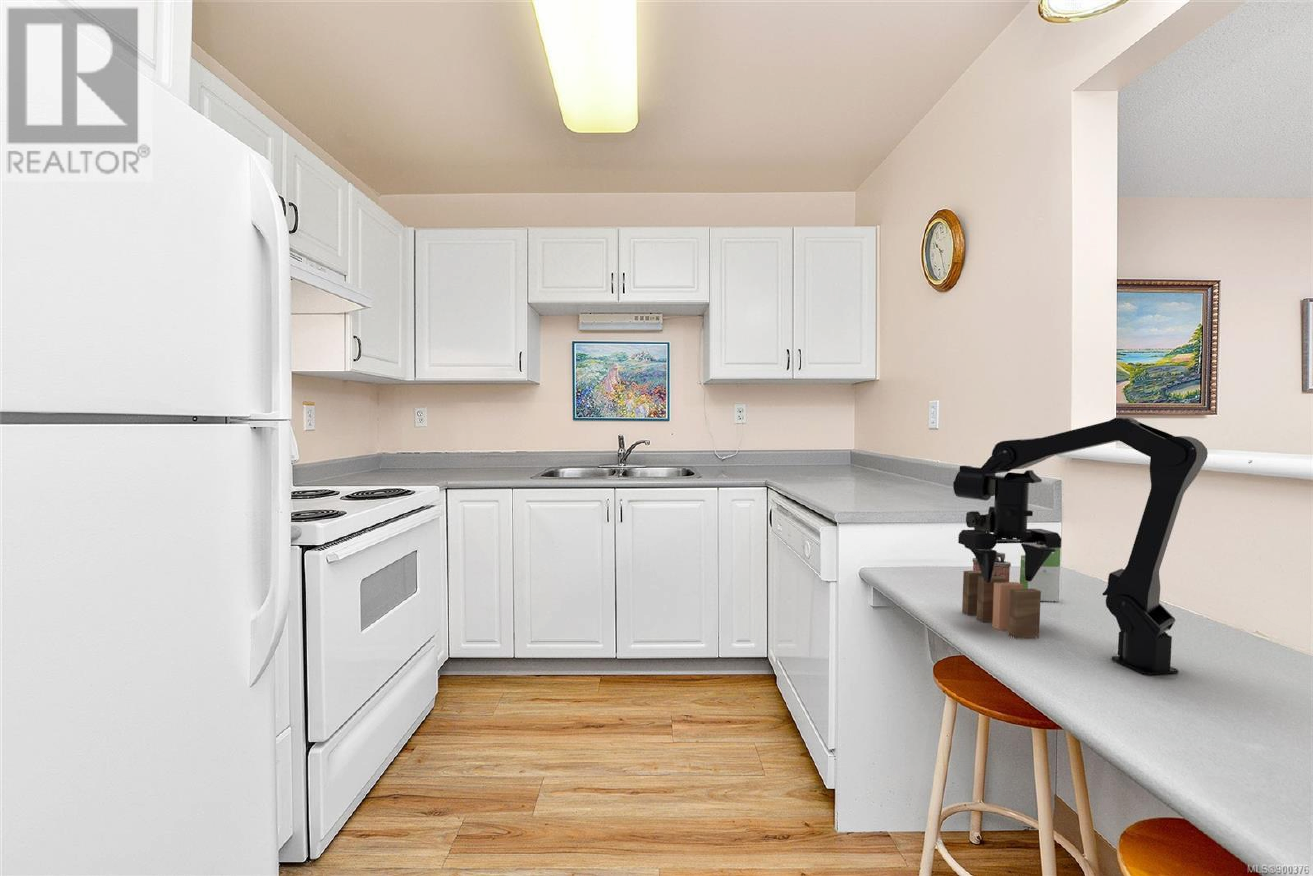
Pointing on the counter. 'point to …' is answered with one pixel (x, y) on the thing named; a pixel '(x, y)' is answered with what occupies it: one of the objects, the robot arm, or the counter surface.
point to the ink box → (1045, 577)
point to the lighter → (997, 566)
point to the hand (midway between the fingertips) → (1007, 581)
